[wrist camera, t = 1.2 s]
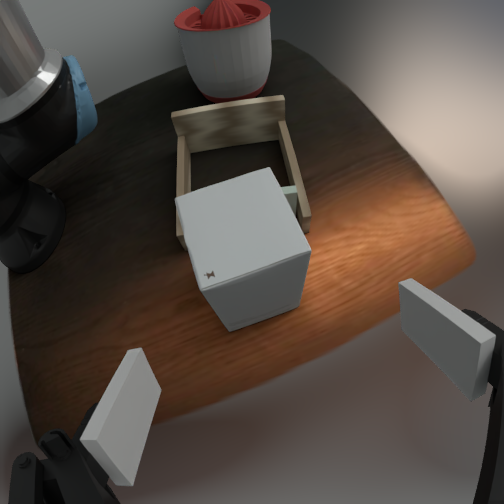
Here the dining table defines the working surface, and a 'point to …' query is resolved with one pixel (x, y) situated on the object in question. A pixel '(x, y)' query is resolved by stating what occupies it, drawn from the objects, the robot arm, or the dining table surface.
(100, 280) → the dining table surface
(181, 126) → the pusher lane
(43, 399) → the dining table surface
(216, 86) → the citrus juicer
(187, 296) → the dining table surface
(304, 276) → the supplement box
